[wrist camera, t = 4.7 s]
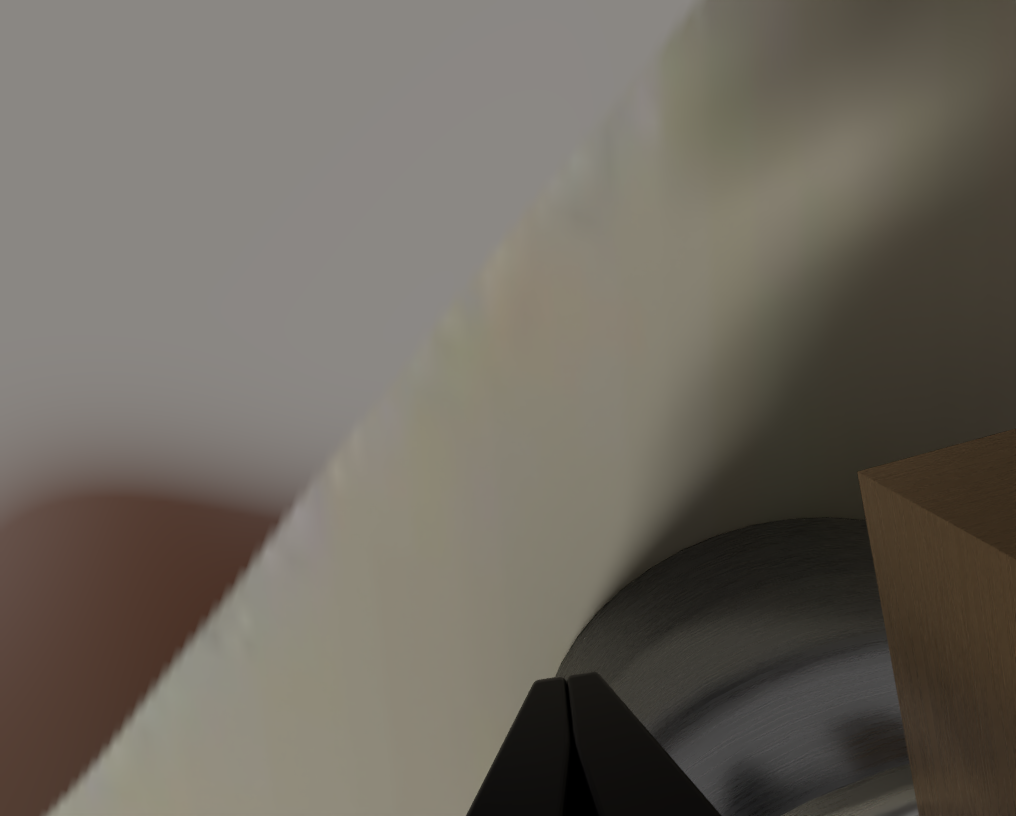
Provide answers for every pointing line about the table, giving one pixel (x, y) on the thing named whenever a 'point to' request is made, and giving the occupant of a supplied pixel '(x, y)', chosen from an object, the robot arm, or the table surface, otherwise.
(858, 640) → the cooker pot
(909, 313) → the table surface
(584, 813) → the robot arm
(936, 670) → the lid
